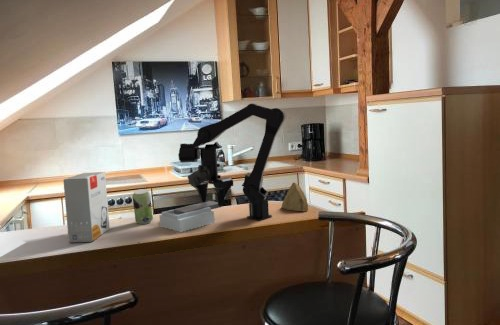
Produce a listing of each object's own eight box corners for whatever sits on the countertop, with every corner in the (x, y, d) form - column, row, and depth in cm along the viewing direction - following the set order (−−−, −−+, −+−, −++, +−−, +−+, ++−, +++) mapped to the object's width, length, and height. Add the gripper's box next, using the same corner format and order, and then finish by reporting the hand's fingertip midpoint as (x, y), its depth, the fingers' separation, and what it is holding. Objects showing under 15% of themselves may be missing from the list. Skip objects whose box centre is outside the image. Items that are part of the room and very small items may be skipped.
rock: (316, 205, 152) (307, 196, 162) (302, 188, 149) (294, 180, 159) (293, 224, 152) (286, 214, 162) (279, 207, 150) (273, 198, 159)
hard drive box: (92, 242, 128) (86, 178, 125) (68, 243, 128) (61, 179, 125) (110, 228, 143) (105, 171, 141) (88, 229, 143) (82, 172, 141)
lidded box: (214, 222, 143) (213, 208, 143) (180, 232, 134) (179, 216, 133) (193, 217, 152) (192, 203, 151) (160, 226, 142) (159, 211, 142)
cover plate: (221, 206, 149) (221, 202, 149) (184, 216, 138) (184, 211, 138) (210, 204, 153) (210, 200, 153) (174, 213, 142) (173, 209, 142)
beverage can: (152, 219, 152) (150, 187, 151) (153, 224, 145) (150, 190, 144) (135, 221, 151) (132, 189, 149) (134, 226, 144) (131, 192, 142)
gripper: (175, 163, 149) (178, 205, 151) (207, 166, 136) (210, 212, 138) (199, 159, 157) (202, 200, 159) (233, 161, 143) (235, 206, 145)
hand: (211, 204), depth 150 cm, fingers open, 9 cm apart
